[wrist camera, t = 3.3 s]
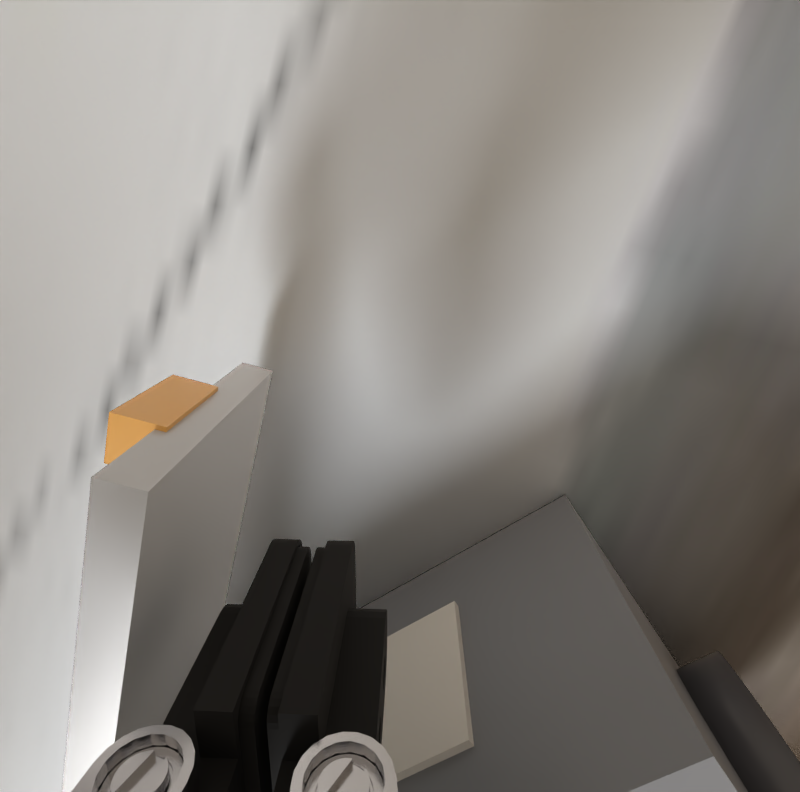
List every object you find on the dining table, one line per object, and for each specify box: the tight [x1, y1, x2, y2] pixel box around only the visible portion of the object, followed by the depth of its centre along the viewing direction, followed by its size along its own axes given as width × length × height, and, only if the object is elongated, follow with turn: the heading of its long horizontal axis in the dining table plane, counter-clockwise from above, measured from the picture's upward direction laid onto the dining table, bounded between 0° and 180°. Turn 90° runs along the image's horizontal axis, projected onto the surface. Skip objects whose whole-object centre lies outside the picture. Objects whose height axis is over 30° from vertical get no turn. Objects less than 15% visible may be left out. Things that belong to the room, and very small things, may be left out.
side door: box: [62, 363, 273, 792], centre depth 12 cm, size 12×2×6 cm, turn 165°
